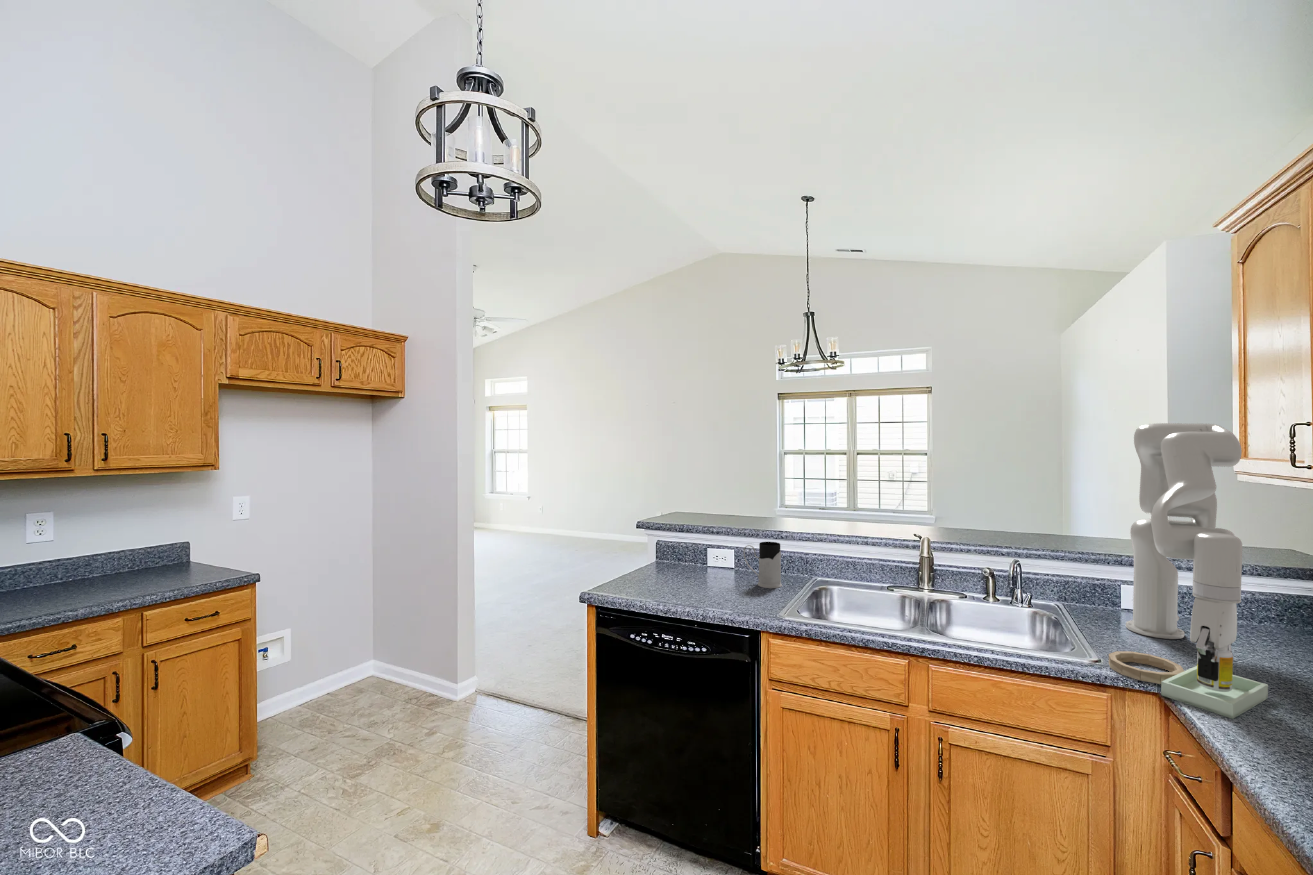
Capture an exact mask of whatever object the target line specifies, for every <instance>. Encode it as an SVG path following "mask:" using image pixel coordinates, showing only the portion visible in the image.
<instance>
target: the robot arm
mask: <svg viewBox="0 0 1313 875" xmlns="http://www.w3.org/2000/svg"><path fill="white" fill-rule="evenodd" d="M1134 431H1135V432H1134V434H1133V444H1134V448H1135V451H1136V454H1137V456H1138V458H1139V463H1140V479H1139V480H1140V481H1139V496H1138V497H1139V500H1138V501H1139V507H1140V510H1141V511H1142V512H1144V513H1146V514H1147V515H1150V517H1151V518H1142V519H1138V520H1136V521H1134V522H1133V523H1132V524H1131V526H1130V529H1129V530H1130V533H1129V534H1130V540H1131V545H1132V553H1133V587H1132V588H1133V591H1132V592H1133V599H1132V600H1133V602H1132V620H1131V619H1130V620H1127V621H1126V622H1125V627H1126V628H1127V629H1128V630H1129V631H1131V632H1134V633H1136V634H1139V635H1143V636H1146V637H1147V636H1148V637H1151V638H1157V639H1164V640H1165V639H1166V640H1180V639H1183V638H1184V637H1185V631H1184V630H1183V629H1181V628H1178V621H1179V620H1180V616H1179V615H1178V598H1179V597H1178V595H1179V591H1178V590H1179V572H1178V569H1177V568H1176V566H1175V565H1174V564H1173V563H1172V562H1171V561H1170V560H1169V559H1178V560H1179V559H1181V560H1192V563H1193V566H1192V570H1193V571H1192V596H1193V597H1194V601H1193V604H1192V611H1191V619H1190V620H1191V621H1190V633H1189V640H1190V642H1191V643H1192V644H1196V645H1195V648H1196V650H1197V652H1198V676H1200V677H1203V678H1206V679H1210V680H1213V681H1218V673H1219V662H1216V661H1217V655H1218V649H1219V648H1222V647H1225V646H1227V645H1228V650H1229V651H1231V652H1232V650H1233V649H1232V646H1233V643H1235V642H1236V640H1237V634H1238V607H1237V604H1240V603H1241V602H1242V578H1243V577H1242V574H1243V573H1242V570H1243V542H1242V539H1241V538H1239V537H1238V536H1236V535H1235V534H1234V533H1233V532H1232V531H1230V530H1229V529H1226V528H1222V527H1221V528H1219V527H1217V526H1216V525H1217V512H1218V500H1217V499H1218V498H1217V495H1216V491H1217V482H1216V480H1215V476H1214V471H1213V467H1218V468H1219V467H1222V468H1223V467H1224V468H1225V467H1227V468H1229V467H1234V466H1237V465H1238V463H1239V462H1240V461H1241V458H1242V452H1243V451H1242V446H1241V443H1240V441H1239V439H1238V438H1237V436H1236V434H1234V433H1232V432H1231V431H1230V430H1229V429H1227V428H1225V427H1223V426H1221V425H1219V424H1215V423H1179V422H1178V423H1176V422H1169V423H1165V422H1164V423H1161V422H1159V423H1158V422H1157V423H1148V424H1143V425H1140V426H1138V427H1136V429H1135V430H1134ZM1169 517H1176V518H1177V517H1178V518H1189V519H1190V520H1174V519H1169ZM1168 558H1169V559H1168ZM1208 643H1212V644H1214V645H1213V646H1210V645H1207V644H1208ZM1207 648H1209V649H1213V651H1212V654H1211V652H1210V650H1207ZM1197 652H1196V653H1197ZM1232 653H1233V652H1232Z"/></svg>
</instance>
